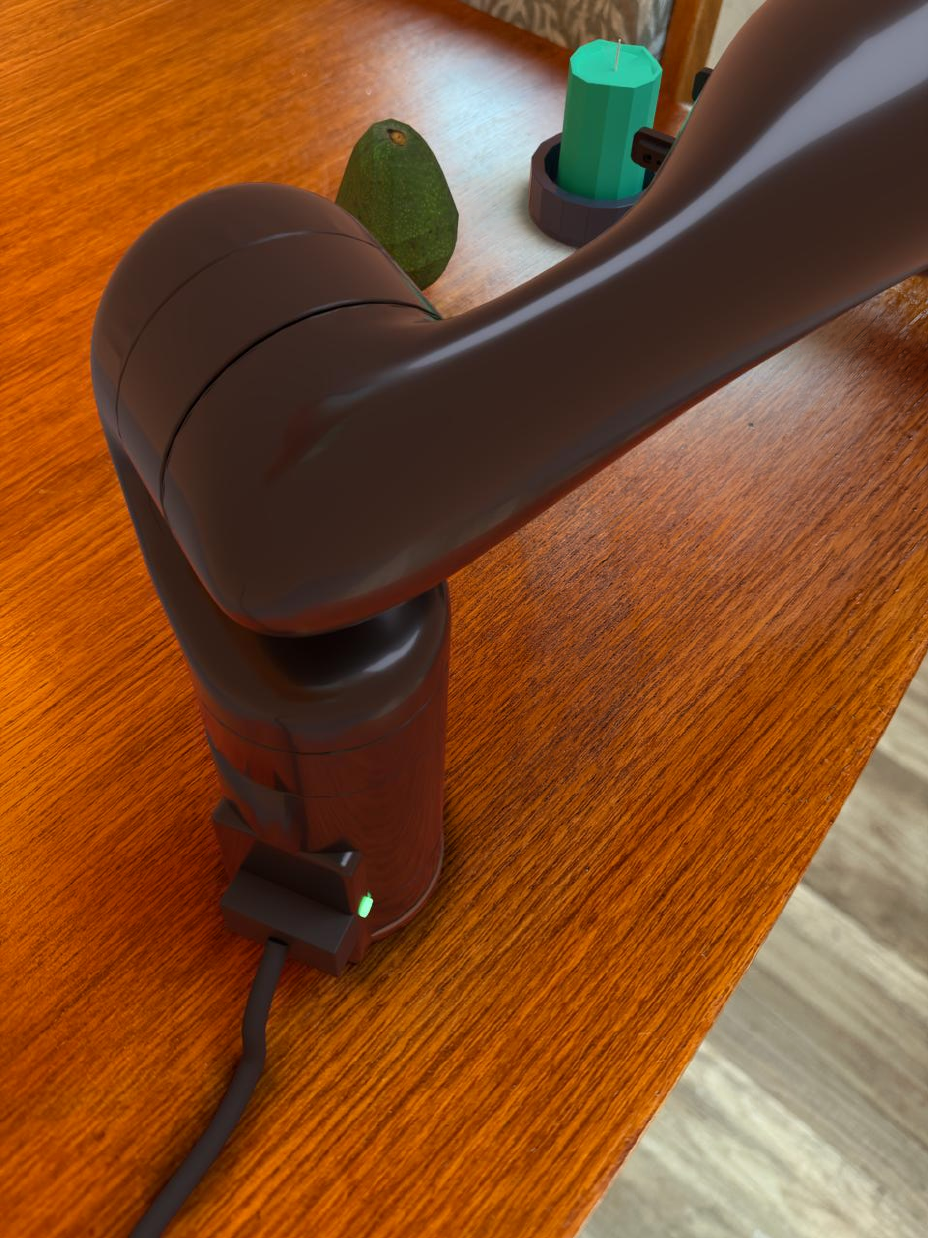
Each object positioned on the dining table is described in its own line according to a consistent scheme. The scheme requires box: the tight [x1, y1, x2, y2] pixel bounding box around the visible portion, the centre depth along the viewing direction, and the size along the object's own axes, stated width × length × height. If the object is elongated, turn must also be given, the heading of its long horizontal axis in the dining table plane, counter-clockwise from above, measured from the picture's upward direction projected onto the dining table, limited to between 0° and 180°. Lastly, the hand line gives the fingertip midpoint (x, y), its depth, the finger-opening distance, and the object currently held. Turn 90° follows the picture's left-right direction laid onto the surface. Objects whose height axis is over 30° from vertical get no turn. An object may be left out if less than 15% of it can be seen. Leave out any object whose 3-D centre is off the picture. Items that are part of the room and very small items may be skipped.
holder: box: [527, 131, 656, 250], centre depth 85 cm, size 9×9×4 cm
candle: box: [556, 38, 664, 200], centre depth 81 cm, size 6×6×12 cm
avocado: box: [334, 117, 460, 293], centre depth 75 cm, size 8×8×12 cm
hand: (665, 112), depth 77 cm, fingers open, 8 cm apart
